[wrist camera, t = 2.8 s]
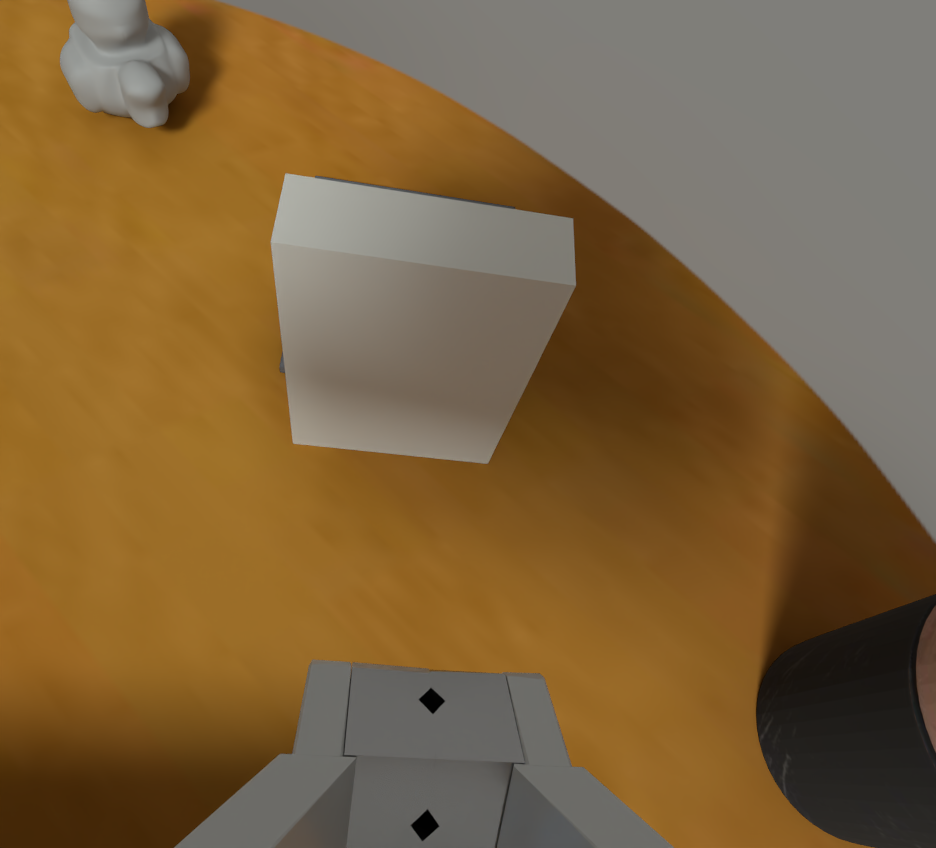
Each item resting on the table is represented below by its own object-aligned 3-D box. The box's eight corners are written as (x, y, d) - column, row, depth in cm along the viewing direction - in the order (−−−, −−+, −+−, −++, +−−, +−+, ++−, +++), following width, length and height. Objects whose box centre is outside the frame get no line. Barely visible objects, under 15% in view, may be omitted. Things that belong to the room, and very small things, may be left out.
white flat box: (293, 443, 28) (270, 242, 18) (302, 386, 29) (286, 166, 19) (487, 463, 29) (576, 285, 19) (489, 408, 31) (572, 211, 20)
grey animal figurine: (168, 56, 37) (130, -115, 30) (220, 141, 35) (192, -21, 28) (59, 79, 35) (-9, -99, 28) (107, 170, 33) (47, 4, 26)
